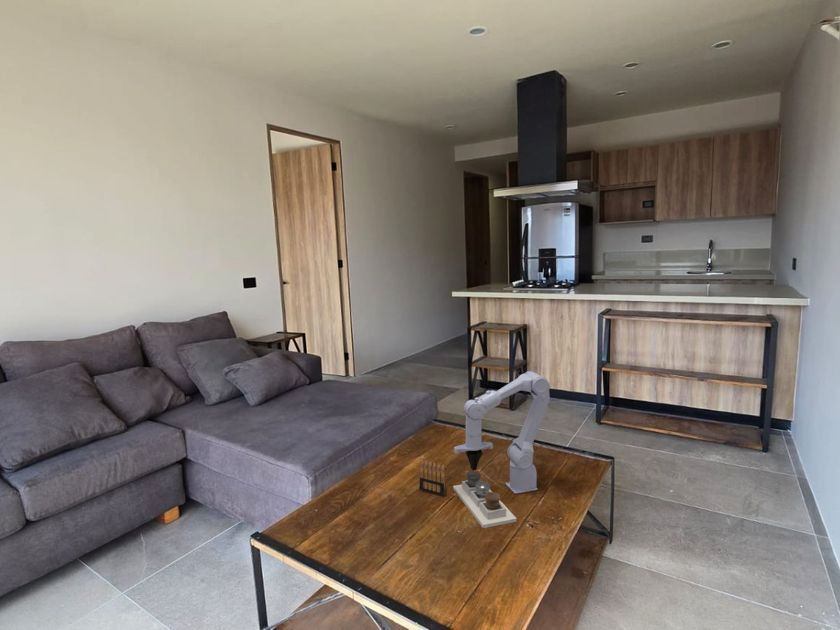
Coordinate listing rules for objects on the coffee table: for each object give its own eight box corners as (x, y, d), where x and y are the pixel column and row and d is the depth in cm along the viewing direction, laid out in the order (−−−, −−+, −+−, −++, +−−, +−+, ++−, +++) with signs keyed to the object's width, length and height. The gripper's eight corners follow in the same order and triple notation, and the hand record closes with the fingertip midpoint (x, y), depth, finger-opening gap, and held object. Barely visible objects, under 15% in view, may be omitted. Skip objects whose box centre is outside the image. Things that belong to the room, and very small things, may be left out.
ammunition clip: (419, 490, 176) (418, 459, 174) (421, 488, 177) (421, 457, 176) (444, 497, 170) (444, 465, 169) (446, 494, 172) (446, 463, 170)
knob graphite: (477, 480, 175) (477, 470, 175) (483, 486, 170) (483, 476, 170) (464, 482, 174) (464, 472, 173) (469, 488, 169) (469, 479, 168)
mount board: (482, 484, 179) (482, 474, 179) (516, 521, 154) (516, 511, 153) (453, 488, 176) (453, 479, 176) (482, 528, 150) (482, 517, 150)
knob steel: (486, 490, 168) (486, 480, 167) (492, 497, 163) (492, 487, 162) (472, 492, 166) (472, 482, 166) (478, 499, 161) (478, 489, 161)
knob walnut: (496, 501, 160) (496, 491, 160) (503, 509, 155) (503, 498, 155) (482, 503, 159) (482, 493, 158) (488, 511, 154) (488, 501, 153)
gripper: (487, 427, 175) (487, 461, 177) (450, 432, 171) (451, 467, 173) (495, 434, 169) (495, 469, 170) (457, 439, 165) (458, 475, 166)
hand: (473, 469), depth 171 cm, fingers closed
